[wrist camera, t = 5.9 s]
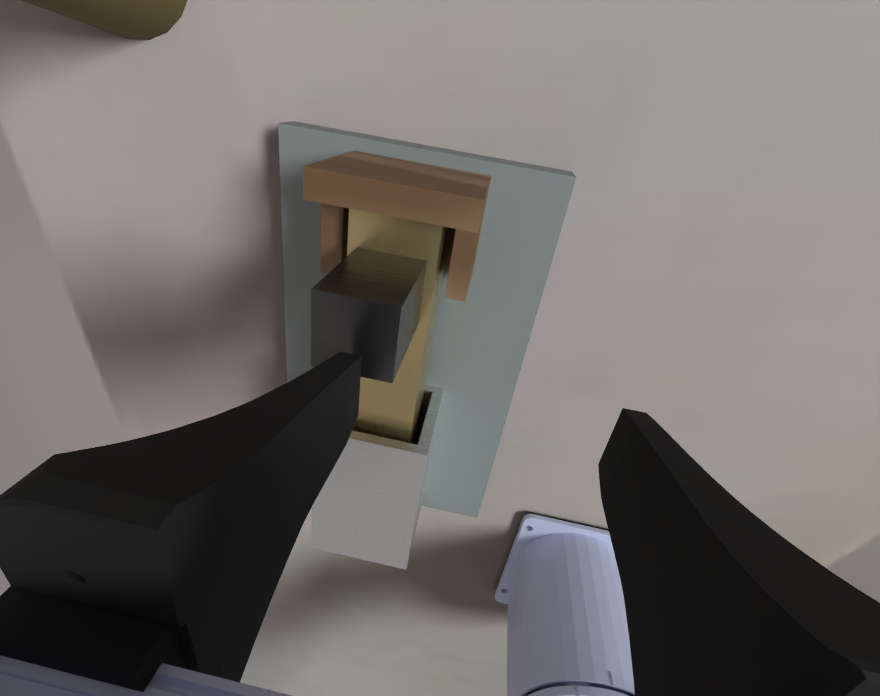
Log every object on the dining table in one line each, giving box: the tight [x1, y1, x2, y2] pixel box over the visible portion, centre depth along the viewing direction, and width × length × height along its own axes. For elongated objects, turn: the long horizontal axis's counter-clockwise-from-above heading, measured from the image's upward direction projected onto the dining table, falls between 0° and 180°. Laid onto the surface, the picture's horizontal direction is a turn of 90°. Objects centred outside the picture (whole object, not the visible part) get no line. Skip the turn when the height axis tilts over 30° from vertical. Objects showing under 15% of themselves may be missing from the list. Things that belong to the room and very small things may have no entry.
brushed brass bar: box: [311, 208, 451, 444], centre depth 17 cm, size 12×3×7 cm, turn 171°
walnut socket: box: [303, 151, 492, 302], centre depth 16 cm, size 4×6×5 cm
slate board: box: [278, 122, 576, 518], centre depth 23 cm, size 20×12×2 cm, turn 171°
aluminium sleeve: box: [312, 384, 444, 570], centre depth 23 cm, size 8×5×5 cm, turn 171°
